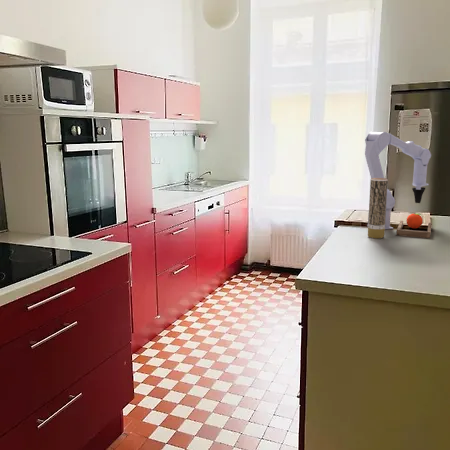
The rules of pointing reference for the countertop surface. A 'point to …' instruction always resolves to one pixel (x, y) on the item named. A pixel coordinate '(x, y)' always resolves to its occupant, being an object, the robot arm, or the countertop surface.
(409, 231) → the holder
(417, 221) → the clementine
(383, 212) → the paper tube
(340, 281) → the countertop surface
